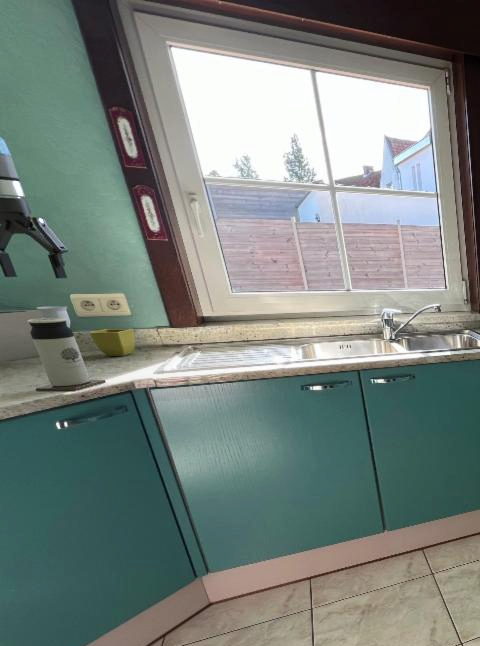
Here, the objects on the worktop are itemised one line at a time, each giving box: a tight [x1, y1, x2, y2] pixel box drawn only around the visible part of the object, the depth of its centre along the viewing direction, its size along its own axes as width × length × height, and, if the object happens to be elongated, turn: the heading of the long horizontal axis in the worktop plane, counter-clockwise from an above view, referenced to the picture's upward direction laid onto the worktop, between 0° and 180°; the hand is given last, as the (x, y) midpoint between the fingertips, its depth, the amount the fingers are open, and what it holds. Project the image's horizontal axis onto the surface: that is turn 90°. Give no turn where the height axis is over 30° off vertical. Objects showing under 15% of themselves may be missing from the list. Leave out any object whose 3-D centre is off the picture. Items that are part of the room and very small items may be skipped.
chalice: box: [36, 305, 71, 329], centre depth 168 cm, size 7×7×18 cm
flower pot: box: [89, 328, 136, 357], centre depth 179 cm, size 9×9×9 cm
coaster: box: [35, 379, 106, 392], centre depth 141 cm, size 10×10×1 cm
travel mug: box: [26, 317, 91, 387], centre depth 137 cm, size 8×8×18 cm
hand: (36, 277), depth 145 cm, fingers open, 13 cm apart
